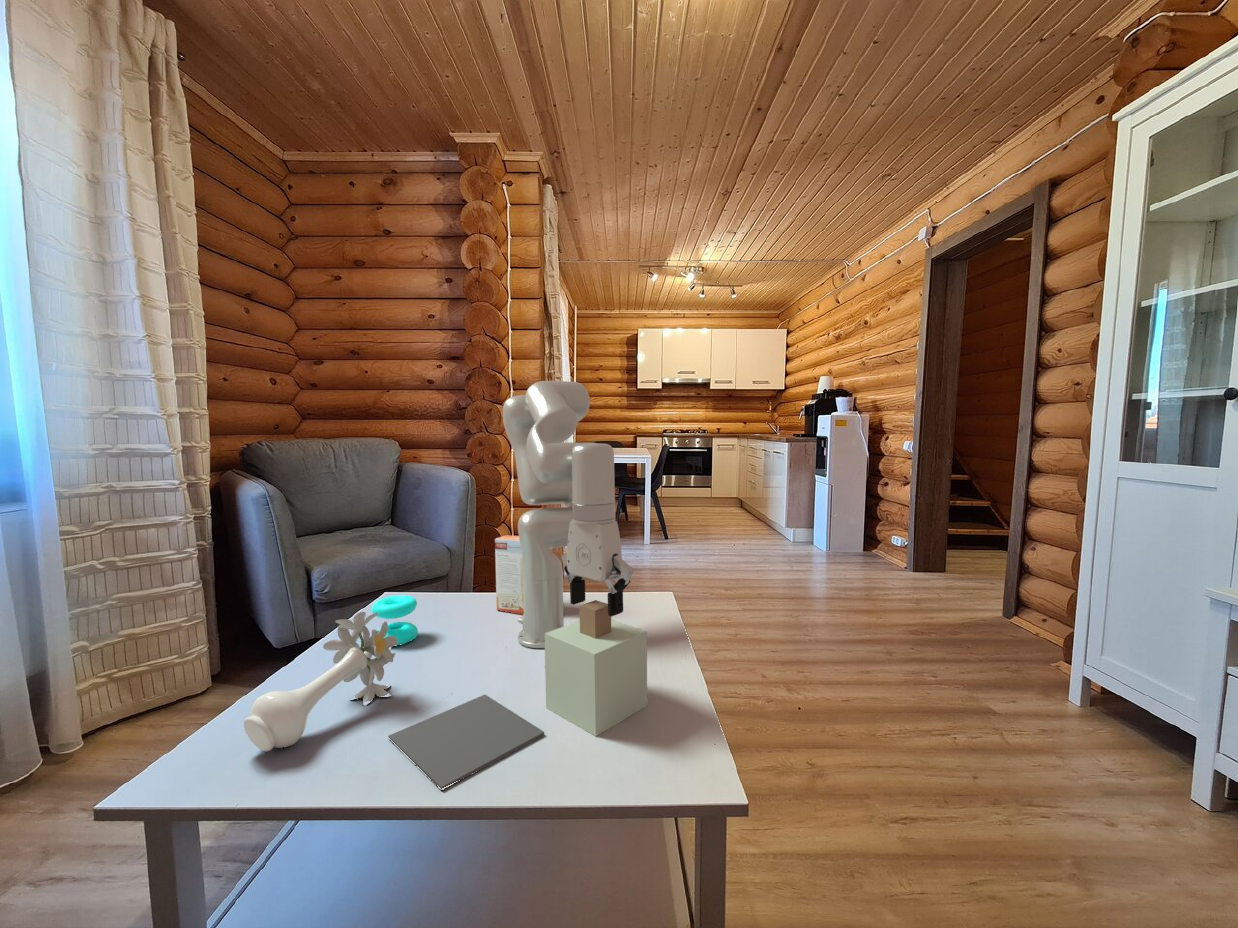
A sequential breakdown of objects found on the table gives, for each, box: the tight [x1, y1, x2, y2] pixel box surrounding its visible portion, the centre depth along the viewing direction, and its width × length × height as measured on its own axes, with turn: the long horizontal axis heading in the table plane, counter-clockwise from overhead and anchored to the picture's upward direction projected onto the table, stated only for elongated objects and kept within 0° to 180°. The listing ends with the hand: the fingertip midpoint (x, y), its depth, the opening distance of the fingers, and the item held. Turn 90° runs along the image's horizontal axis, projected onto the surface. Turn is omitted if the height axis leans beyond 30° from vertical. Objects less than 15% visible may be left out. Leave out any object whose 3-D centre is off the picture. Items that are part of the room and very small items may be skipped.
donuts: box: [371, 594, 419, 645], centre depth 124 cm, size 10×10×10 cm
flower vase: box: [243, 611, 398, 752], centre depth 90 cm, size 13×18×25 cm
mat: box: [387, 694, 545, 789], centre depth 84 cm, size 18×18×1 cm
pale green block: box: [544, 599, 648, 738], centre depth 92 cm, size 13×13×19 cm
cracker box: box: [494, 535, 524, 616], centre depth 143 cm, size 14×6×21 cm, turn 65°
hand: (596, 608), depth 91 cm, fingers open, 9 cm apart
